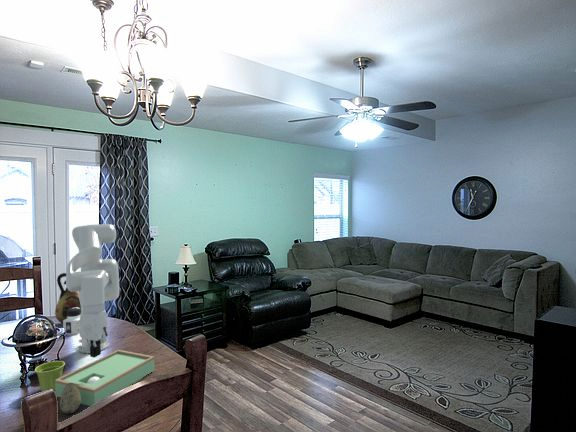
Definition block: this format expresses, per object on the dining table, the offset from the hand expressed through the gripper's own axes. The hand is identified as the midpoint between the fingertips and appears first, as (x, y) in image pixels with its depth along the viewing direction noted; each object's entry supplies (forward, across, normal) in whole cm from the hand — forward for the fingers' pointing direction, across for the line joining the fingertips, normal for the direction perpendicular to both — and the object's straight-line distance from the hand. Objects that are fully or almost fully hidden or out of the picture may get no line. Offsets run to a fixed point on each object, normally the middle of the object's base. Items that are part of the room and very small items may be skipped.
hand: (95, 355), depth 134 cm
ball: (+10, +1, -2) cm, 10 cm away
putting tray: (+13, +1, +4) cm, 13 cm away
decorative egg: (+12, +6, -15) cm, 20 cm away
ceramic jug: (+15, -79, +46) cm, 93 cm away
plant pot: (+13, -16, -7) cm, 22 cm away
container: (+15, -64, +38) cm, 76 cm away
